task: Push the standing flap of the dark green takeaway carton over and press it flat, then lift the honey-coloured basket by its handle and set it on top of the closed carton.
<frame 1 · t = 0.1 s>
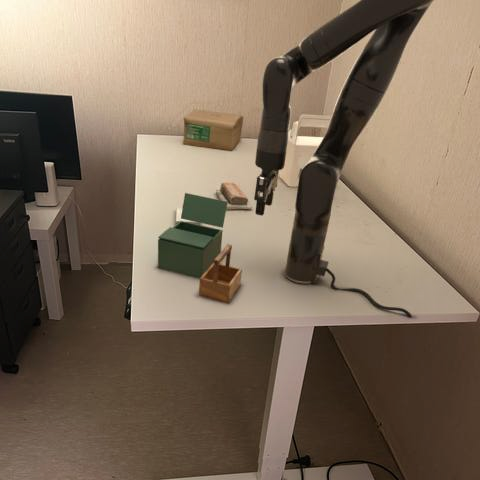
hand: (263, 209, 125), 17 cm above the table, tool pointing down, fingers open, 8 cm apart
packaged product: (232, 202, 177), on the table
gable box: (306, 182, 207), on the table
basket: (220, 290, 121), on the table
hard drive: (187, 219, 158), on the table
carton: (190, 262, 132), on the table
flap: (203, 210, 132), point 13 cm above the table, hinge at 110.0°
paper package: (212, 143, 249), on the table
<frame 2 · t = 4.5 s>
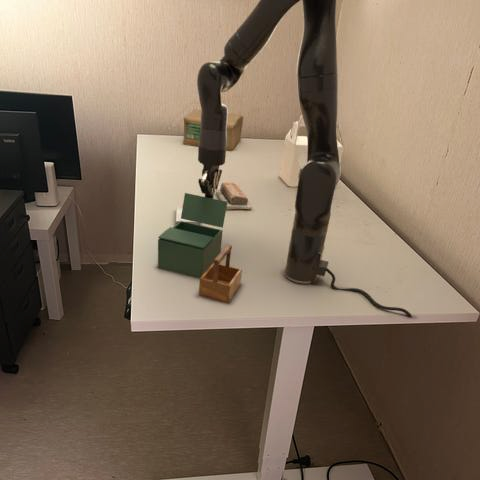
hand: (208, 205, 135), 13 cm above the table, tool pointing down, fingers closed
flap: (203, 210, 132), point 13 cm above the table, hinge at 109.3°, touching gripper
everything else where it was.
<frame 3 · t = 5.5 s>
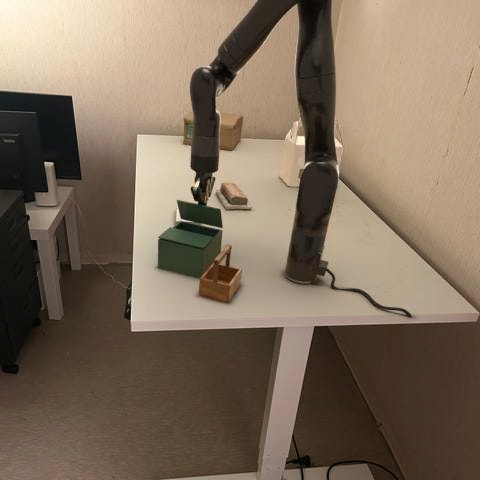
hand: (201, 214, 132), 12 cm above the table, tool pointing down, fingers closed
flap: (200, 214, 130), point 12 cm above the table, hinge at 63.6°, touching gripper
everything else where it was.
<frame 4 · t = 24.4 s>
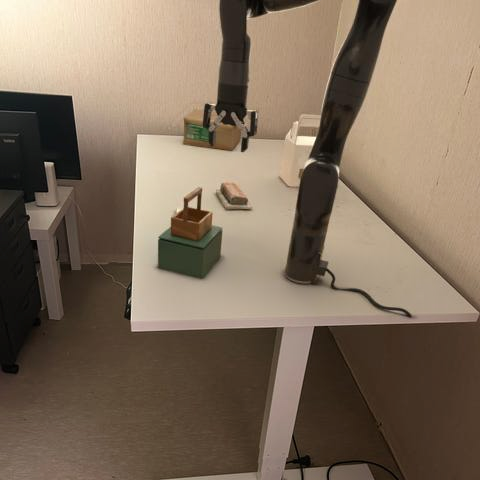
hand: (227, 148, 123), 30 cm above the table, tool pointing down, fingers open, 8 cm apart
basket: (191, 232, 127), point 9 cm above the table, touching carton
flap: (196, 228, 130), point 9 cm above the table, hinge at -0.6°
everything else where it was.
at the end: flap at -1° (first picture: +110°); basket inside the target area in the carton (0.0 cm from its centre), point 9.3 cm above the carton's base; basket tilted 0° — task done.
